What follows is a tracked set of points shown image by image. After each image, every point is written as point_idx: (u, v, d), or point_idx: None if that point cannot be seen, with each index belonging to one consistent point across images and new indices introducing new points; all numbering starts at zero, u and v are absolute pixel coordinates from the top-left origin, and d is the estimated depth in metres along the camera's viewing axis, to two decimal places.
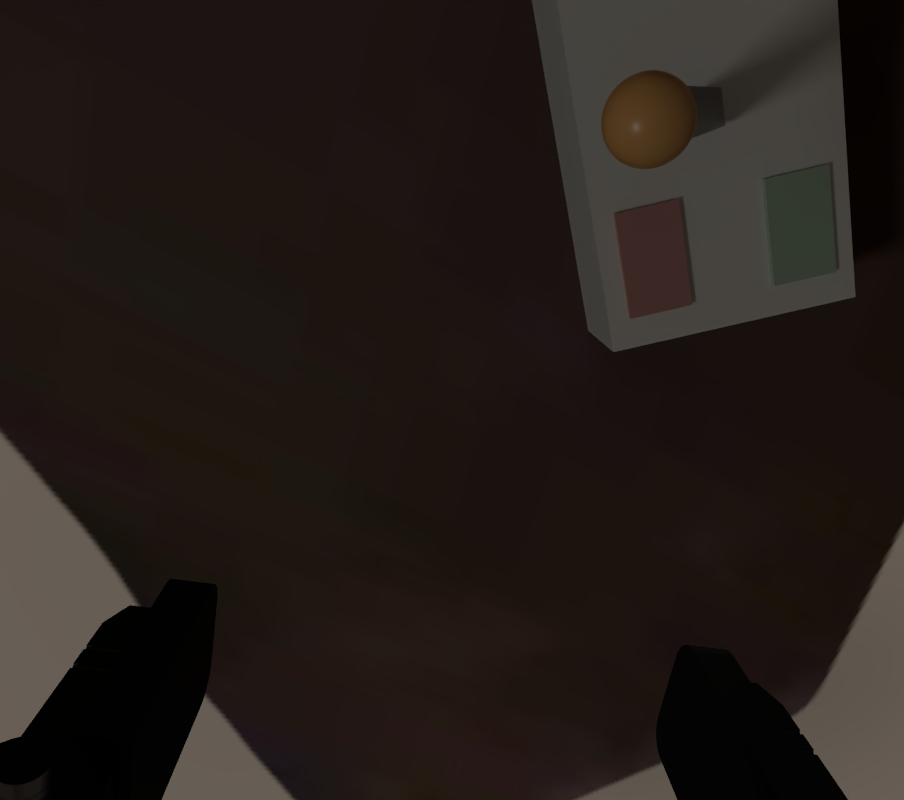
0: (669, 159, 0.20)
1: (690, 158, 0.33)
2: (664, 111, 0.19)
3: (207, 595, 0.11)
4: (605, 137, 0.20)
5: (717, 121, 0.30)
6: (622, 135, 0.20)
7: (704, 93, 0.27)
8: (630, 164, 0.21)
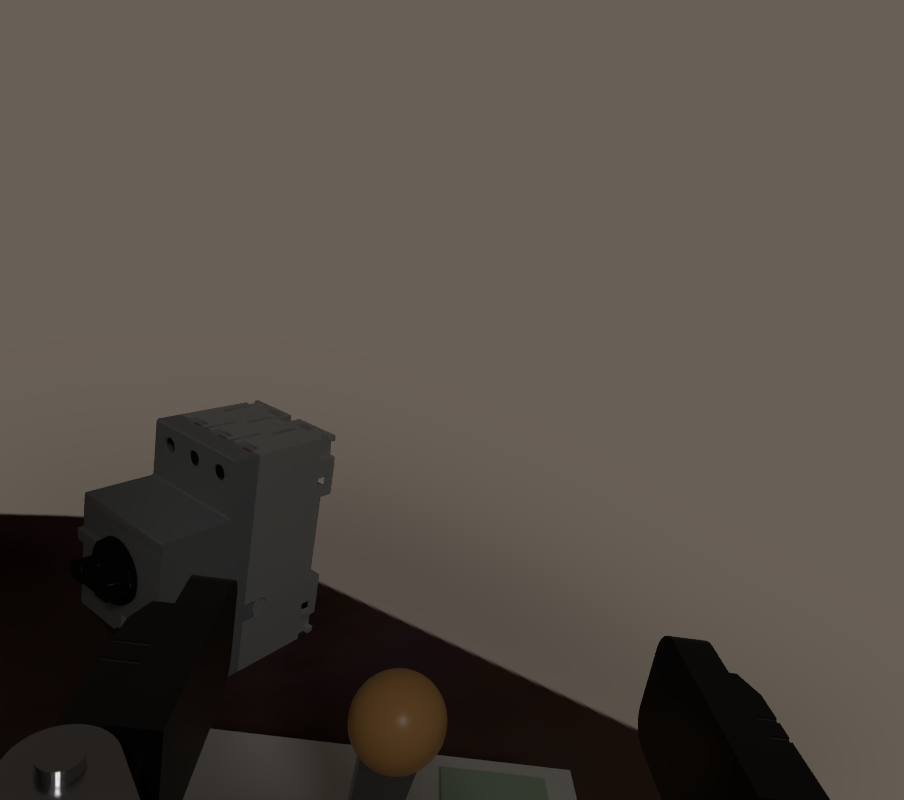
0: (443, 701, 0.19)
1: None
2: (400, 678, 0.19)
3: (229, 591, 0.11)
4: (403, 756, 0.18)
5: None
6: (409, 725, 0.18)
7: None
8: (438, 739, 0.18)
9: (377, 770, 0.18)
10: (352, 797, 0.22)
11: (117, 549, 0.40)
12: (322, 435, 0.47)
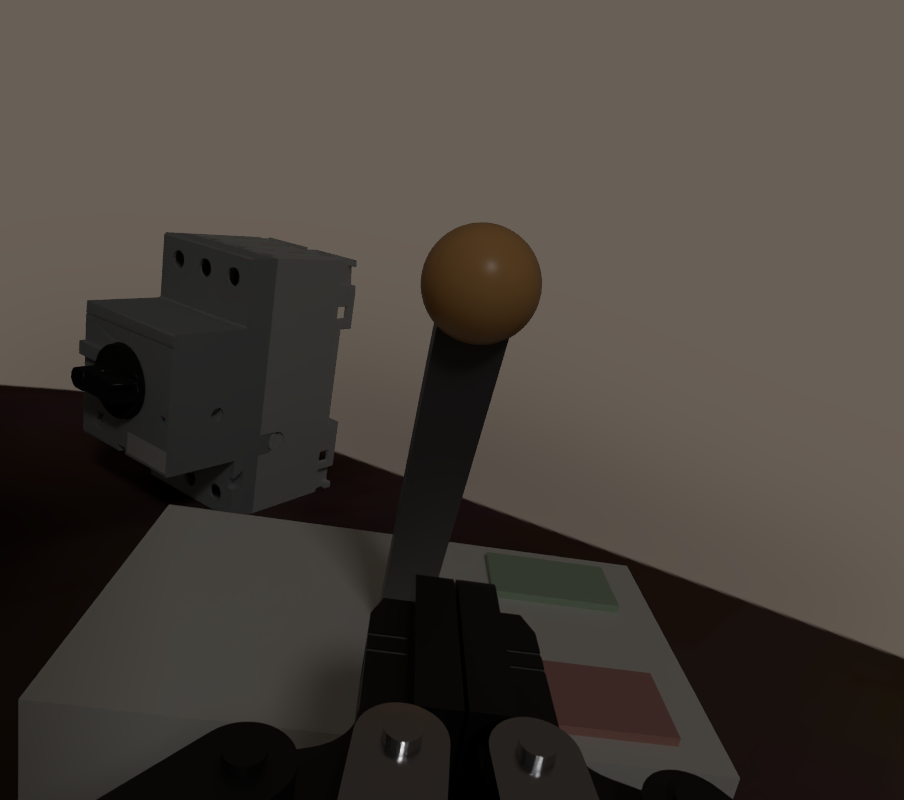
0: None
1: None
2: None
3: (454, 589, 0.13)
4: (495, 290, 0.14)
5: None
6: (502, 253, 0.14)
7: None
8: (535, 287, 0.15)
9: (461, 319, 0.15)
10: (414, 441, 0.18)
11: (123, 352, 0.37)
12: (342, 259, 0.43)
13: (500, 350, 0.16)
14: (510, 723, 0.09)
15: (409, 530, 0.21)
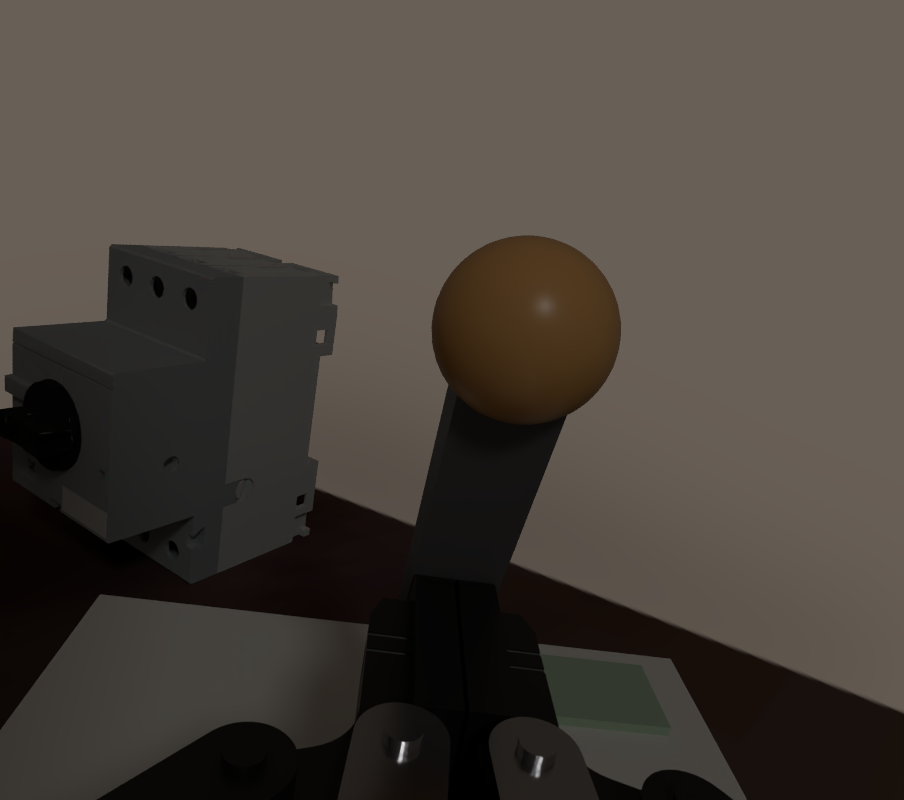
0: None
1: None
2: (533, 236, 0.10)
3: (454, 589, 0.13)
4: (557, 342, 0.09)
5: None
6: (567, 282, 0.09)
7: None
8: (615, 335, 0.09)
9: (500, 388, 0.09)
10: (418, 558, 0.13)
11: (54, 393, 0.30)
12: (322, 274, 0.37)
13: (553, 431, 0.11)
14: (510, 723, 0.09)
15: None
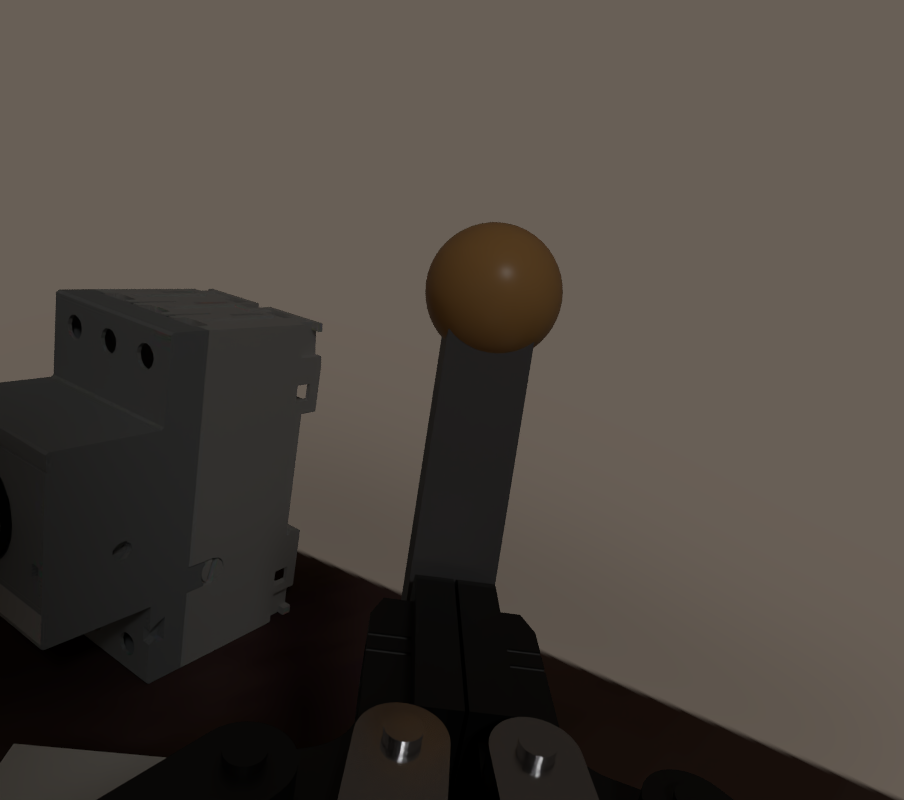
0: None
1: None
2: None
3: (454, 589, 0.13)
4: (519, 250, 0.13)
5: None
6: (519, 228, 0.13)
7: None
8: (558, 270, 0.13)
9: (483, 286, 0.13)
10: (418, 533, 0.13)
11: None
12: (303, 322, 0.32)
13: (525, 362, 0.13)
14: (510, 723, 0.09)
15: None
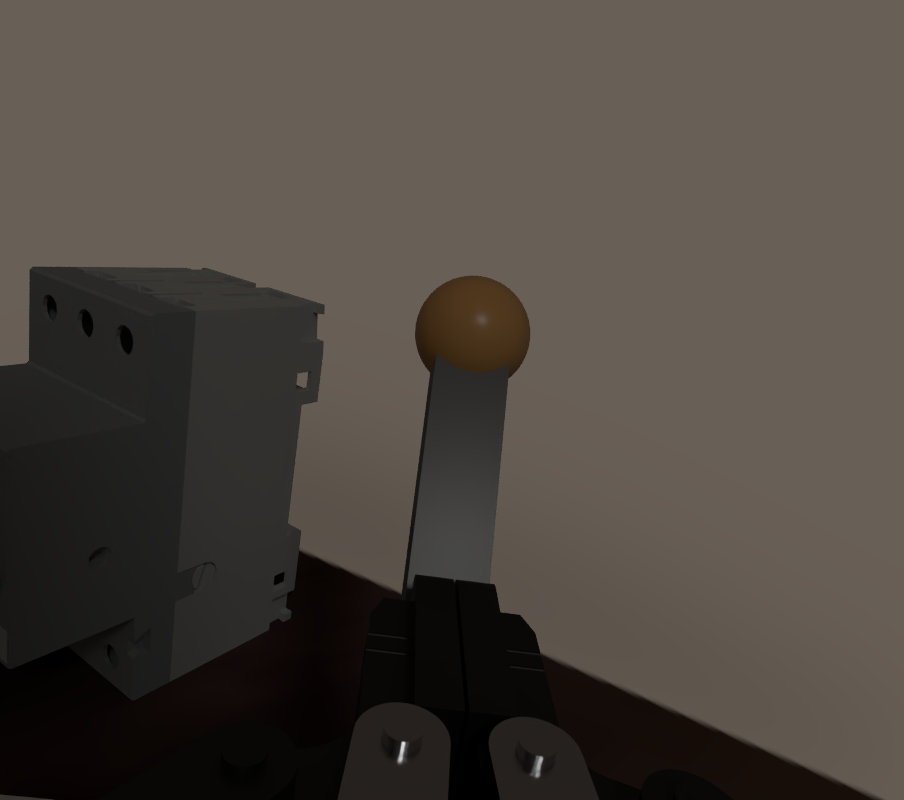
0: None
1: None
2: None
3: (454, 589, 0.13)
4: (492, 286, 0.16)
5: None
6: (490, 279, 0.16)
7: None
8: (524, 309, 0.16)
9: (464, 310, 0.15)
10: (415, 530, 0.14)
11: None
12: (304, 303, 0.29)
13: (503, 380, 0.16)
14: (510, 723, 0.09)
15: None
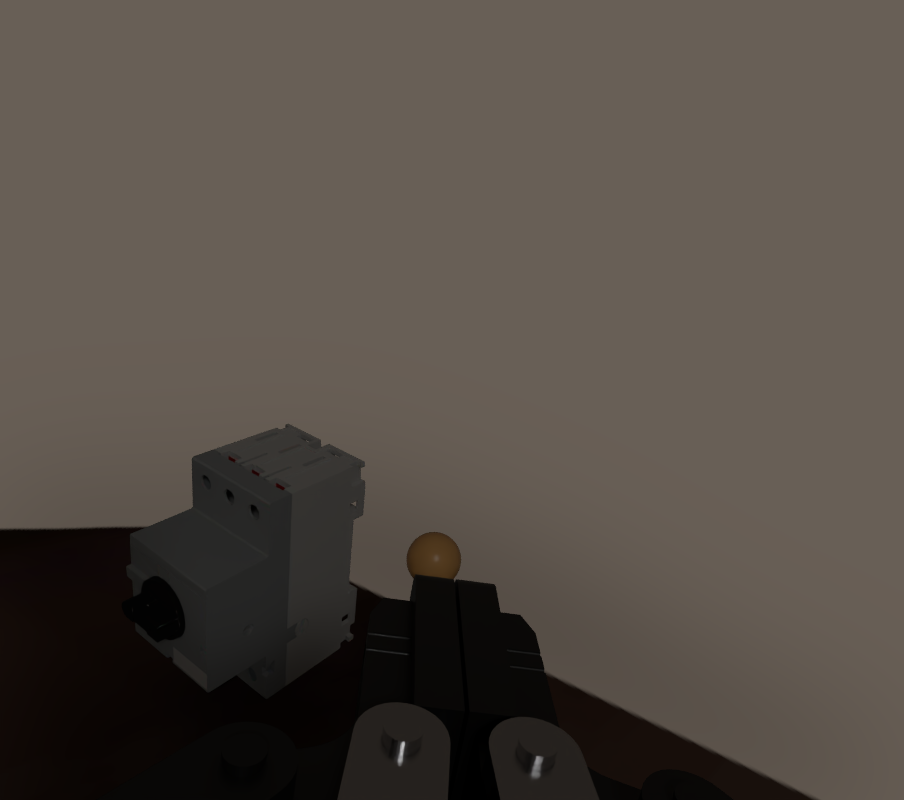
0: None
1: None
2: None
3: (454, 589, 0.13)
4: (440, 545, 0.34)
5: None
6: (441, 534, 0.35)
7: None
8: (457, 550, 0.34)
9: (426, 560, 0.34)
10: None
11: (164, 591, 0.42)
12: (352, 462, 0.48)
13: None
14: (510, 723, 0.09)
15: None
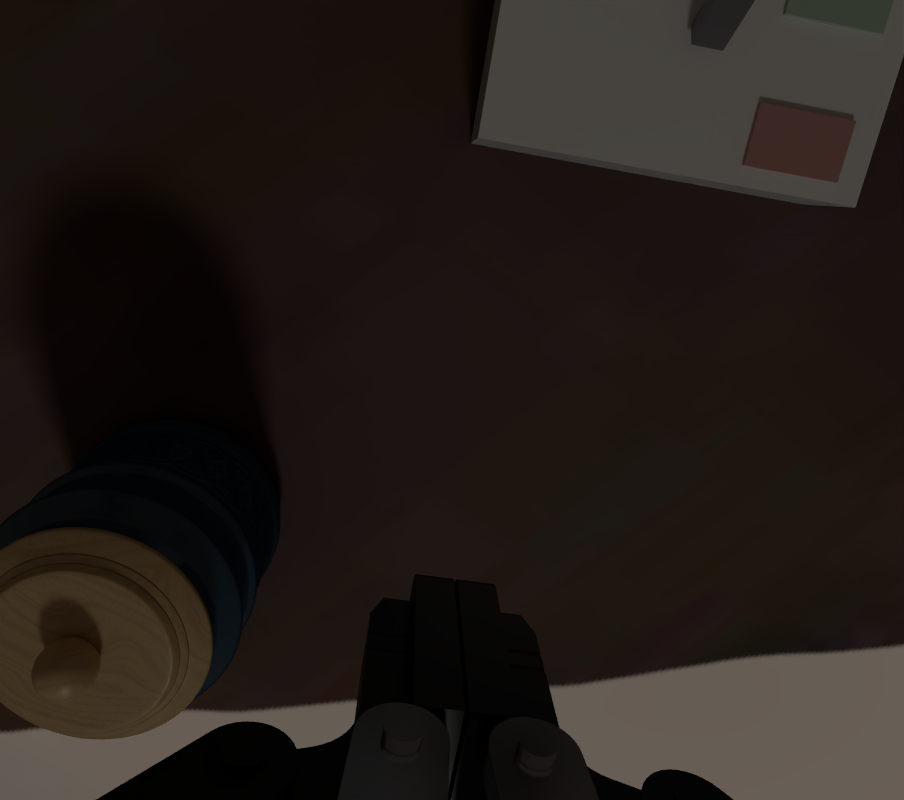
0: None
1: (732, 78, 0.36)
2: None
3: (454, 589, 0.13)
4: None
5: None
6: None
7: None
8: None
9: None
10: None
11: None
12: None
13: None
14: (510, 723, 0.09)
15: None
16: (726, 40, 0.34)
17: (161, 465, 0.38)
